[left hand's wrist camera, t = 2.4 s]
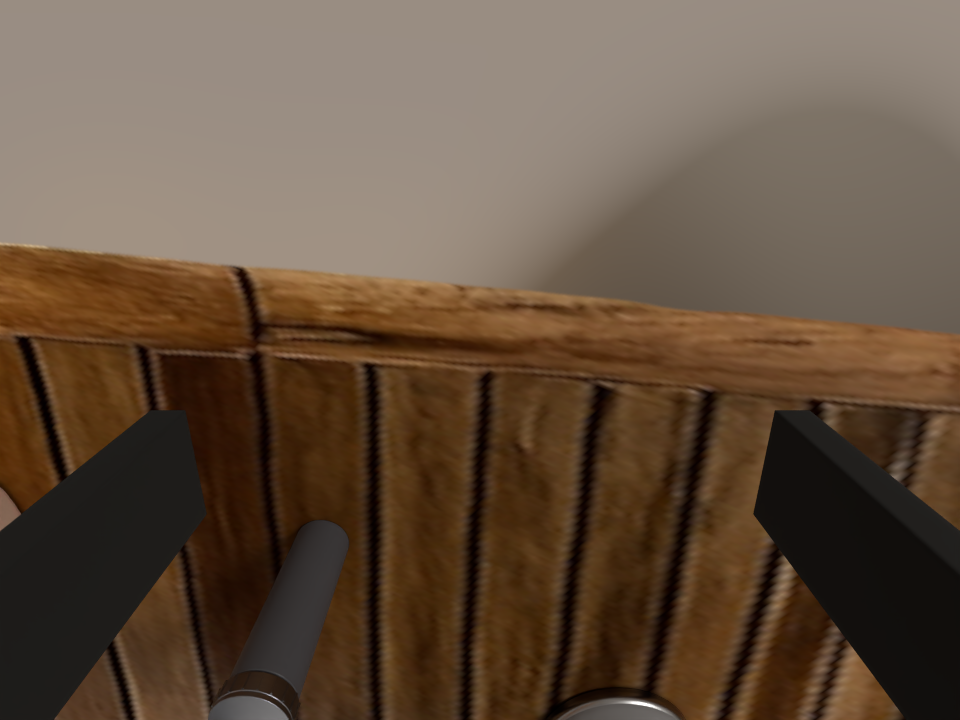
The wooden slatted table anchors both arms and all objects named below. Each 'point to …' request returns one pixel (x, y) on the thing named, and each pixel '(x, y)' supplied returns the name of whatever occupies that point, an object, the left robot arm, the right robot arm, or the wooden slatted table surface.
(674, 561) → the wooden slatted table surface
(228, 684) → the lid
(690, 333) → the wooden slatted table surface
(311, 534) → the dark grey cylinder
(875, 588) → the left robot arm
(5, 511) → the anatomical model
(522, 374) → the wooden slatted table surface
